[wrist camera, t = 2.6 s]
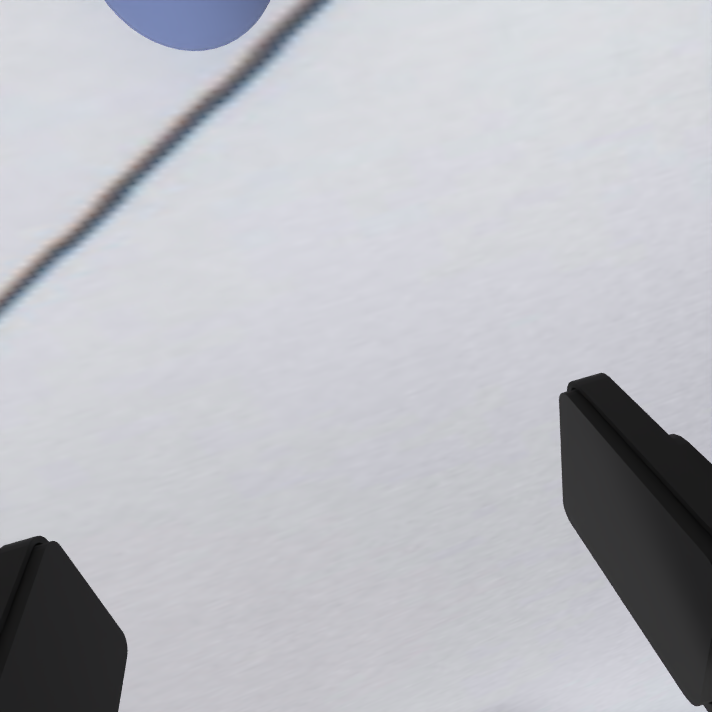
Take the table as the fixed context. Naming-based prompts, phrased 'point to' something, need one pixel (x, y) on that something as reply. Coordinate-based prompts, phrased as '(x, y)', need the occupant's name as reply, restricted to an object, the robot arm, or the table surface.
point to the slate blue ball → (190, 20)
